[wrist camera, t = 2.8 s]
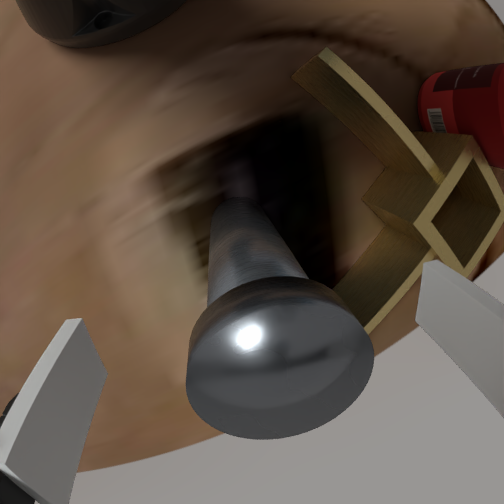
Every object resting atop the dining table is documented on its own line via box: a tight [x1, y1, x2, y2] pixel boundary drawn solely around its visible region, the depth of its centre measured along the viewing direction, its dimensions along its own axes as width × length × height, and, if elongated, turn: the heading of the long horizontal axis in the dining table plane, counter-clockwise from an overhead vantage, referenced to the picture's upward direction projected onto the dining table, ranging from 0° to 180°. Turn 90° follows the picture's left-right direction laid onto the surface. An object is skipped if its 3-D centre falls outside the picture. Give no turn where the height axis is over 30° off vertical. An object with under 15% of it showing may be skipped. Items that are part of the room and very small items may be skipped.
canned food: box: [417, 63, 504, 169], centre depth 15 cm, size 8×8×11 cm
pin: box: [186, 197, 374, 439], centre depth 14 cm, size 5×5×16 cm
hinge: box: [290, 47, 504, 334], centre depth 18 cm, size 18×18×7 cm
